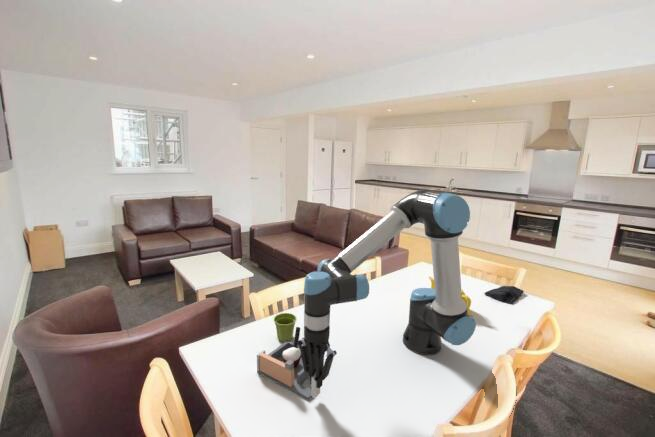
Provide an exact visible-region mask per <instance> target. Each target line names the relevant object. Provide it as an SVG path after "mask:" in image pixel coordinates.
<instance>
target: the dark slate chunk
mask: <svg viewBox="0 0 655 437" xmlns="http://www.w3.org/2000/svg"><path fill="white" fill-rule="evenodd" d="M483 293H484V294H483V295H485V297H488V298H491V299H493V300H494V301H498V302H501V303H504V304H510V305H512V304H513V303H515V302H516V301H517V300H519V298H520V297H521V296H522V295H523V294H524V293H525V291H524V290H523V289H520V288H519V287H516V286H512V285H502V286H499V287H497V288H494V289H493V288H492V289H491V290H488V291H485V292H483Z"/></svg>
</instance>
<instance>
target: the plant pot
mask: <svg viewBox="0 0 655 437" xmlns="http://www.w3.org/2000/svg"><path fill="white" fill-rule="evenodd" d="M297 319H298V318H297V316H296V315H295V314H293V313H290V312H283V313H278V314H276V315H275V316H274V317H273V323H274V325H275V329H276V336H277V340H278V341H280V342H283V343H285V342H286V341H287V340H289V341H291V340H292V339H293V336H294V330H295V324H296V322H297Z"/></svg>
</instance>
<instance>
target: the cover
mask: <svg viewBox="0 0 655 437" xmlns="http://www.w3.org/2000/svg"><path fill="white" fill-rule="evenodd" d="M260 371H261V372H263V373H265V374H267V375H269V376H271V377H273V378H275V379H276V380H278V381H280V382H282V383H284V384H286V385H288V386H290V387H292V386H293V385H294V362H293V361H291V360H288V361H287V362H285V363H283V362H281V361H279V360H277V359H275V358H273V357H271V356H269V355H268V354H267V353H266V352H265V353H262V354H260Z"/></svg>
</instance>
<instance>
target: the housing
mask: <svg viewBox="0 0 655 437" xmlns="http://www.w3.org/2000/svg"><path fill="white" fill-rule="evenodd" d="M293 345H294V341H291V340H290V341H289V340H287V341H285V342H283V343H282V344H280V345H279V346H278V347H276V348H275V349H274V350H272V351H271V352H269V353H268V354H267V355H269V356H271V357H273V358H275V359H277V360H279V361H281V362H283V355H282V354H283V351H285V350H287V349H289V348H292V347H293ZM297 348H299V345H298V347H297ZM299 349H300V348H299ZM262 353H265V354H266V350H265V349H263V350H262V351H260V352H259V353H257V354H256V373H257V374H258V375H260V376H262V377H264V378H266V379H268V380H270V381H271V382H274V383H276V385H279V386H281V387H283V388H284V389H287V390H288V391H291V392H292V393H294V394H296V395H297V396H299V397H300V398H303V399H305V400H307V401H309V400H310V399H311V398H313V397H312V396H311V388H309V387H307V386H305V385H303V383H304V382H306V381H307V379H310V376H309V373H308V372H305V371H304V367H303V362H302V357H301V355H300V362H299V364H298V365H297V366H296V367H294V385H293V386H292V387H290V386H288V385H286V384H284V383H282V382H280V381H278V380H276V379H275V378H273V377H271V376H269V375H267V374H265V373H263V372H261V371H260V354H262ZM283 363H284V362H283ZM307 366H308V365H307Z"/></svg>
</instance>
